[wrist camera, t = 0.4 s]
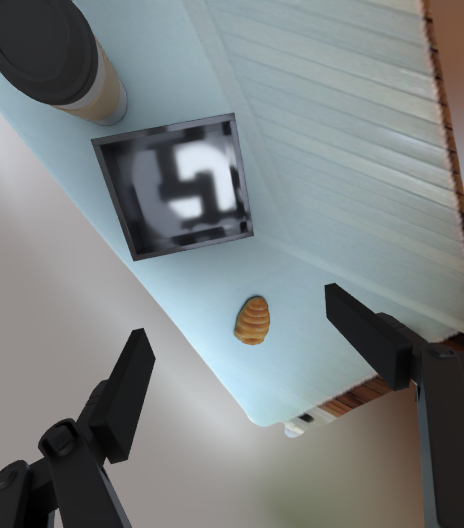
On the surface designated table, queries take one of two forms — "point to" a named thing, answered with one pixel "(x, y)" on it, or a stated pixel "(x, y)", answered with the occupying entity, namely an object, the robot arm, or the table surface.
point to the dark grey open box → (177, 185)
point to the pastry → (253, 322)
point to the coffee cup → (59, 60)
